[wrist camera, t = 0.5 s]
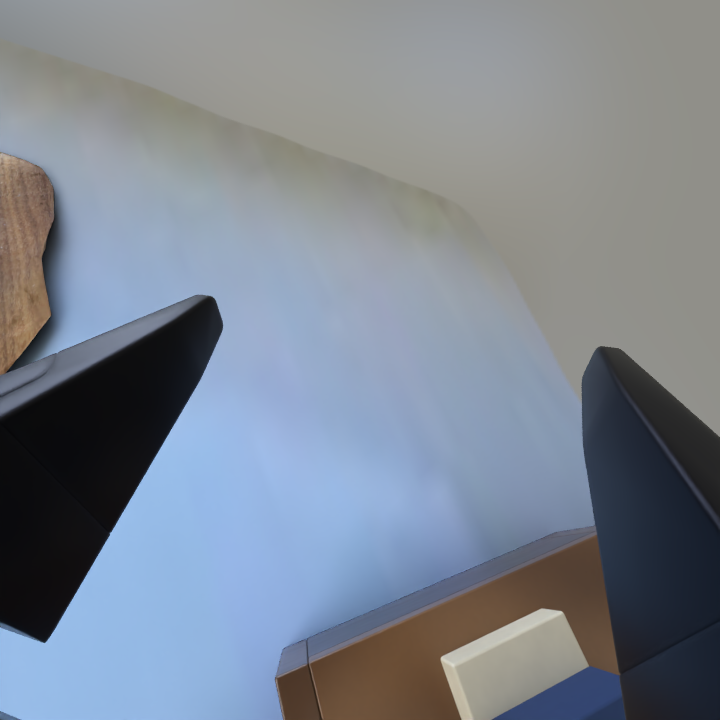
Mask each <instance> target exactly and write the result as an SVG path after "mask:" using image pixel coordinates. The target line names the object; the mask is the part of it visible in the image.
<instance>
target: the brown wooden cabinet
mask: <svg viewBox="0 0 720 720" xmlns="http://www.w3.org/2000/svg"><path fill="white" fill-rule="evenodd" d="M539 609H549V610H556V611H562V612H563V613H564V615H565V617H566V619H567V621H568V623H569V625H570V627H571V629H572V631H573V634H574V636H575V638H576V640H577V642H578V644H579V646H580V648H581V650H582V652H583V654H584V657H585V659H586V661H587V663H588V665H589V666H592V667H595V668H598V669H601V670H604V671H607V672H610V673H613V674H616V675H620V673H619V671H618V665H617V659H616V653H615V646H614V640H613V634H612V627H611V621H610V615H609V608H608V602H607V596H606V589H605V583H604V577H603V570H602V564H601V557H600V551H599V545H598V538H597V532H596V526H591V527H585V528H579V529H573V530H567V531H561V532H555V533H553V534H551V535H548V536H546V537H544V538H541V539H540V540H537V541H534V542H532V543H530V544H527V545H525V546H523V547H520V548H518V549H516V550H513V551H511V552H509V553H506V554H504V555H502V556H499V557H497V558H495V559H492V560H490V561H488V562H485V563H483V564H481V565H478V566H476V567H473V568H471V569H469V570H466V571H464V572H462V573H459V574H457V575H455V576H452V577H450V578H448V579H445V580H443V581H441V582H438V583H436V584H434V585H431V586H429V587H427V588H424V589H422V590H420V591H417V592H415V593H413V594H410V595H408V596H406V597H403V598H401V599H399V600H396V601H394V602H391V603H389V604H387V605H384V606H382V607H380V608H377V609H375V610H373V611H370V612H368V613H366V614H363V615H361V616H359V617H356V618H354V619H352V620H349V621H347V622H345V623H342V624H340V625H338V626H335V627H333V628H331V629H328V630H326V631H324V632H321V633H319V634H317V635H314V636H312V637H309V638H308V639H307V640H303V641H300V642H298V643H296V644H293V645H291V646H289V647H286V648H284V649H283V650H282V654H281V658H280V662H279V665H278V669H277V673H276V677H275V682H276V687H277V692H278V697H279V702H280V706H281V711H282V716H283V720H462V719H461V717H460V714H459V711H458V708H457V705H456V703H455V700H454V697H453V694H452V691H451V688H450V686H449V683H448V680H447V677H446V674H445V671H444V669H443V666H442V663H441V657H442V656H444V655H446V654H448V653H450V652H452V651H454V650H456V649H458V648H460V647H462V646H464V645H467V644H469V643H471V642H473V641H475V640H477V639H479V638H481V637H483V636H485V635H487V634H489V633H492V632H494V631H496V630H498V629H500V628H502V627H504V626H506V625H508V624H510V623H512V622H514V621H516V620H519V619H521V618H523V617H525V616H527V615H529V614H531V613H533V612H535V611H537V610H539Z"/></svg>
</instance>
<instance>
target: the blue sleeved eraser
mask: <svg viewBox="0 0 720 720" xmlns="http://www.w3.org/2000/svg"><path fill="white" fill-rule="evenodd" d="M441 663H442V666H443V669H444V671H445V674H446V677H447V680H448V683H449V686H450V688H451V691H452V694H453V697H454V700H455V703H456V705H457V708H458V711H459V714H460V717H461V719H462V720H626V718H625V711H624V705H623V699H622V692H621V686H620V680H619V675H616V674H613V673H610V672H607V671H604V670H601V669H598V668H595V667H592V666H589V665H588V663H587V661H586V659H585V657H584V654H583V652H582V650H581V648H580V646H579V644H578V642H577V640H576V638H575V636H574V634H573V631H572V629H571V627H570V625H569V623H568V621H567V619H566V617H565V615H564V613H563V612H562V611H556V610H549V609H539V610H537V611H535V612H533V613H531V614H529V615H527V616H525V617H523V618H521V619H519V620H516V621H514V622H512V623H510V624H508V625H506V626H504V627H502V628H500V629H498V630H496V631H494V632H492V633H489V634H487V635H485V636H483V637H481V638H479V639H477V640H475V641H473V642H471V643H469V644H467V645H464V646H462V647H460V648H458V649H456V650H454V651H452V652H450V653H448V654H446V655H444V656H442V657H441Z"/></svg>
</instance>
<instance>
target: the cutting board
mask: <svg viewBox="0 0 720 720" xmlns="http://www.w3.org/2000/svg"><path fill="white" fill-rule="evenodd" d="M53 221H54V191H53V186H52V185H51V183H50V181H49V179H48V177H47V175H46V174H45V172H44V171H43V169H42V168H40V167H39V166H37V165H34V164H32V163H30V162H28V161H25V160H23V159H20V158H17V157H14V156H11V155H8V154H5V153H2V152H0V375H2V374H5V373H6V372H7V371H8V369H9V368H10V367H11V366H12V365H13V363H14V362H15V361H16V360H17V359H18V358H19V356H20V355H21V354H22V352H23V351H24V350H25V349H26V347H27V346H28V345H29V343H30V342H31V341H32V340H33V338H34V337H35V336H36V334H37V333H38V332H39V330H40V329H41V328H42V327H43V325H44V324H45V323H46V321H47V320H48V319H49V317H50V316H51V311H50V306H49V301H48V296H47V291H46V286H45V281H44V274H43V267H42V260H41V259H42V255H43V253H44V251H45V249H46V241H47V235H48V233H49V231H50V228H51V226H52V223H53Z"/></svg>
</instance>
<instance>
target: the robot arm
mask: <svg viewBox="0 0 720 720" xmlns="http://www.w3.org/2000/svg"><path fill="white" fill-rule="evenodd" d="M222 329H223V322H222V318H221V315H220V312H219V309H218V306H217V303H216V300H215V299H214V298H213V297H211V296H206V295H195V296H193V297H190V298H188V299H185V300H183V301H181V302H178V303H176V304H173V305H171V306H168V307H166V308H164V309H161V310H159V311H156V312H154V313H152V314H149V315H147V316H144V317H142V318H140V319H137V320H135V321H132V322H130V323H127V324H125V325H123V326H120V327H118V328H115V329H113V330H111V331H108V332H106V333H103V334H101V335H98V336H96V337H94V338H91V339H89V340H86V341H84V342H82V343H79V344H77V345H74V346H72V347H70V348H67V349H65V350H62V351H60V352H59V353H58V354H57V353H55V354H52V355H50V356H48V357H45V358H43V359H40V360H38V361H35V362H33V363H30V364H28V365H25V366H23V367H20V368H18V369H15V370H13V371H10V372H7V373H5V374H2V375H0V627H1V628H3V629H6V630H9V631H12V632H15V633H17V634H20V635H23V636H26V637H29V638H31V639H34V640H37V641H40V642H43V643H45V642H46V641H47V640H48V639H49V637H50V636H51V634H52V633H53V631H54V630H55V628H56V626H57V624H58V623H59V621H60V619H61V618H62V616H63V614H64V613H65V611H66V609H67V607H68V606H69V604H70V602H71V601H72V599H73V597H74V595H75V594H76V592H77V590H78V589H79V587H80V585H81V583H82V582H83V580H84V578H85V577H86V575H87V573H88V571H89V570H90V568H91V566H92V565H93V563H94V561H95V559H96V558H97V556H98V554H99V553H100V551H101V549H102V547H103V546H104V544H105V542H106V541H107V539H108V537H109V536H110V532H112V530H113V528H114V527H115V525H116V523H117V521H118V520H119V518H120V516H121V515H122V513H123V511H124V509H125V508H126V506H127V504H128V503H129V501H130V499H131V498H132V496H133V494H134V492H135V491H136V489H137V487H138V486H139V484H140V482H141V480H142V479H143V477H144V475H145V474H146V472H147V470H148V468H149V467H150V465H151V463H152V462H153V460H154V458H155V456H156V455H157V453H158V451H159V450H160V448H161V446H162V445H163V443H164V441H165V439H166V438H167V436H168V434H169V433H170V431H171V429H172V427H173V426H174V424H175V422H176V421H177V419H178V417H179V415H180V414H181V412H182V410H183V409H184V407H185V405H186V404H187V402H188V400H189V398H190V397H191V395H192V393H193V392H194V390H195V388H196V386H197V385H198V383H199V381H200V379H201V377H202V375H203V373H204V371H205V369H206V367H207V364H208V362H209V360H210V358H211V355H212V353H213V351H214V349H215V346H216V344H217V342H218V340H219V337H220V335H221V333H222ZM582 429H583V448H584V456H585V462H586V469H587V475H588V481H589V488H590V494H591V500H592V507H593V513H594V519H595V526H596V532H597V538H598V545H599V551H600V557H601V564H602V570H603V577H604V583H605V589H606V596H607V602H608V608H609V615H610V621H611V627H612V634H613V640H614V646H615V653H616V659H617V665H618V671H619V673H620V675H619V680H620V686H621V692H622V699H623V705H624V711H625V718H626V720H720V437H719V436H718V435H717V434H716V433H714V432H713V431H712V430H711V429H710V428H709V427H708V426H707V425H705V424H704V423H703V422H702V421H701V420H700V419H699V418H698V417H697V416H695V415H694V414H693V413H692V412H691V411H690V410H689V409H688V408H686V407H685V406H684V405H683V404H682V403H681V402H680V401H679V400H677V399H676V398H675V397H674V396H673V395H672V394H671V393H669V392H668V391H667V390H666V389H665V388H664V387H663V386H662V385H661V384H659V383H658V382H657V381H656V380H655V379H654V378H653V377H652V376H650V375H649V374H648V373H647V372H646V371H645V370H644V369H642V368H641V367H640V366H639V365H638V364H637V363H635V362H634V360H632V359H631V358H630V357H629V356H628V355H627V354H626V353H625V352H623V351H622V350H621V349H618V348H611V347H603V346H600V347H598V348H597V349H596V350H595V352H594V353H593V355H592V358H591V360H590V362H589V364H588V366H587V368H586V370H585V372H584V375H583V378H582ZM0 720H20V719H18V718H15V717H13V716H10V715H8V714H6V713H3V712H1V711H0Z"/></svg>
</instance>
